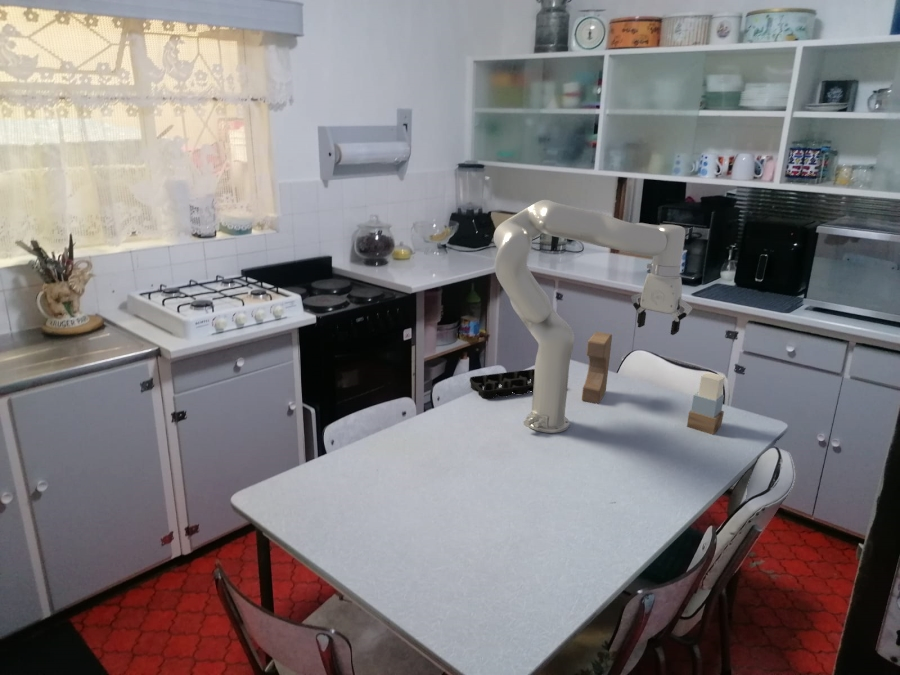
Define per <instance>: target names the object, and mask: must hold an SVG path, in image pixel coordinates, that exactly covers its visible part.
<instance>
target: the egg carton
mask: <svg viewBox="0 0 900 675" xmlns="http://www.w3.org/2000/svg"><path fill="white" fill-rule="evenodd" d="M534 375H535V368H531V369H524V370H523V369H522V370H517V371H507V372H499V373H498V372H497V373H491V374H484V375H474V376H470V378H469V383H470V388H471V389H472V390H473V391H475V392H478V396H479V397H481V398H482V399H486V400H492V399H496V397H497V396H498V397H501V398H504V397H505V398H506V396H507V397H511V396H513V394H514V393H515V394H514V395H516V394H522V395H525V394H524V393H527V392H528V393H529V392H530V391H532V392H533V387H534ZM528 379H531V381H530V382H529V380H528ZM500 384H501V385H502V386H501V385H500ZM500 386H501V387H500ZM512 392H513V393H512ZM532 392H531V393H532ZM528 393H527V394H528ZM496 394H497V395H496Z"/></svg>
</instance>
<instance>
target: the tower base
mask: <svg viewBox="0 0 900 675" xmlns="http://www.w3.org/2000/svg"><path fill="white" fill-rule="evenodd" d="M724 413H725V411H724V410H721V412H720V413H719V414H718V415H716V416H715V417H714V418H712V417H709V416H706V415H702V414H699V413H695V412H692V411H691V410H690V411H688V416H687V424H686V427H687V428H690V429H693V430H696V431H699V432H703V433H704V434H705V433H706V434H709V435H714V434H715V433H717V431H719V429H720V428H722V424H723V420H724V419H723V418H724Z"/></svg>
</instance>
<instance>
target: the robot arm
mask: <svg viewBox="0 0 900 675" xmlns="http://www.w3.org/2000/svg"><path fill="white" fill-rule="evenodd" d="M541 234H544V235H547V236H550V237H551V236H552V237H555V238H561V239H565V240H570V241H571V240H572V241H576V242H580V243H585V244H589V245H594V246H597V247H602V248H607V249H612V250H616V251H617V250H618V251H620V252H623V253H624V252H625V253H630V254H635V255H639V256H643V257H652V261H651V263H647V264H646V268H647V269H649V273H647V274H646V277H645V281H644V284H643V288H642V292H640V293H637V294H634V295H631V297H630V298H631V302H632V305H633V307H634V309H635V310H636V313H637V320H636V323H637V328H642V327H644V326H645V324H646V316H647V312H646V310H647V311H652V312H655V313H662V314H665V315H666V314H667V315H671V317H672V318H673V320H672V321H671V328H670V335H671V336H674V335H676V334H678V333H679V331H680V326H681V320H683V319H684V318H686V317H687V316H688V315H689V314H690V313H691V312H692V310H693V307H692V306H691V305H690V304H689V303H687V301H685V300H684V299H682V294H683V285H682V284H683V281H682V276H680V272H681V266H682V265H681V264H682V259H683V252H684V246H685V238H686V229H685V227H683V226H680V225H675V224H661V225H659V224H649V223H644V222H636V223H632V222H628V221H626V220H622V219H620V218H619V219H618V218H616V217H614V216H611V215H609V214H606V213H603V212H599V211H597V210H596V211H594V210H590V209H585V208H581V207H575V206H572V205H567V204H562V203H558V202H555V201H552V200H549V199H542V200H539V201H537V202H534V203H533V204H532V205H531V204H530V205H529V206H528V207H526V208H524V209H523V210H521V211H519V212H518V213H516V214H514V215H512V216H511V217H509V218H507V219H506V220H504V221H502V222H501V223H500V224H499V225H498V226H497V227H496V229H495V230H494V233H493V243H494V245H495V247H496V248H497V252H496V256H495V260H494V270H495V271H494V272H495V275H496V277H497V278H496V279H497V280H498V282H499V283H500V286H501V287H502V289H503V290H504V292H505V293H506V295H507V297H508V298H509V301H510V304H511V306H512V309H513V310H514V312H515V314H517V316H518V317H519V319H520V320H521V321H522V323H523V324H524V325H525V327H526V328H527V330H528V332H529V333H530V334H531V335H532V337H533V338H534V339H535V340H536V342H537V343H538V347H537V353H536V356H535V361H534V362H535V364H534V369H535V375H534V387H533V393H532V402H531V411H530V413H529V414H527V415H526V416H525V419H524V420H523V425H524V426H525V427H529V428H530V429H532V430H534V431H537V432H541V433H547V434H549V433H550V434H557V433H561V432H564V431H566V430H568V428H569V427H570V420H569V418H568V417H566V415H565V414H566V404H567V395H568V384H569V372H570V365H571V357H572V352H573V349H574V344H575V335H574V334H575V333H574V332H573V329H572V327H571V326H570V325H569V324H568V323H567V322H566V321H565V319H564V318H562V317H561V316H560V315H559V314H558V313H557V311H556V310H555V308H554V307H553V306H552V304H551V303H552V302H551V300H550V297H549V295H548V294H547V293H546V292H545V290H544V289H543V288H542V287H541V286H540V284H539V282H538V281H537V280H536V278H535V277H534V275H533V274H532V271H531V270H530V268H529V266H528V258H529V255H530V253H531V250H532V246H533V239H536V238H537V237H538V236H540V235H541ZM639 299H640V301H639ZM681 308H683V309H684V311H683V312H682V313H681V312H680V310H681Z"/></svg>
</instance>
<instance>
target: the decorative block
mask: <svg viewBox="0 0 900 675" xmlns="http://www.w3.org/2000/svg"><path fill="white" fill-rule="evenodd" d="M612 339H613V335H612V334H611V333H605V332H599V331H595V332H594V333H593V335H592V336H591V337H590V338H589V339H588V341H587V344H586V345H587V346H586V357H588V366H587V367H588V368H587V369H588V370H587V374H586V379H585V381H584V384H583V386H582V391H581V392H582V394H581V401H582V402H586V401H587V403H591V402H592V403H591V404H596V403H597V404H600V403H601V400H602V399H603V398H604V395H605V394H606V392H607V383H608V374H609V367H610V357H611V350H612ZM597 404H596V405H597Z"/></svg>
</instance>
